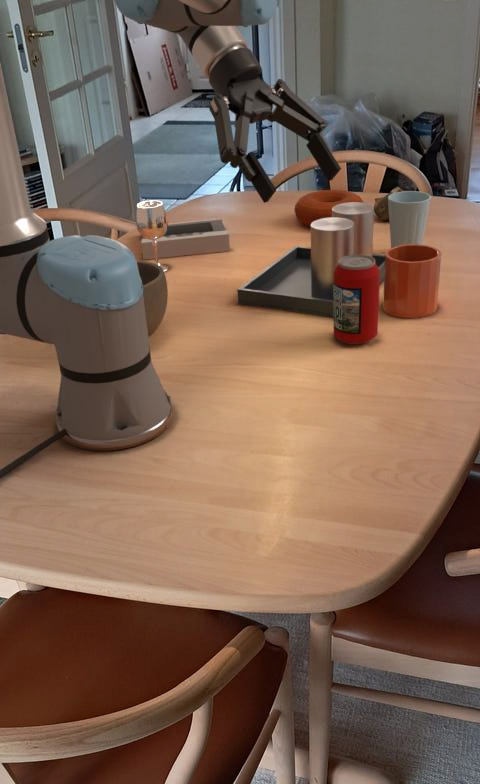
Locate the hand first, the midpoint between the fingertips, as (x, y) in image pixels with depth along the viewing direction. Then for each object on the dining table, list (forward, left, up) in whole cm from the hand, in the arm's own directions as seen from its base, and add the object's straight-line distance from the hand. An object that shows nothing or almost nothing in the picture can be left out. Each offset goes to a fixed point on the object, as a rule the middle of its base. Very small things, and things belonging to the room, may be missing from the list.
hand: (303, 185), depth 122 cm
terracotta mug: (+12, -14, -21) cm, 28 cm away
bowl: (-16, +26, -21) cm, 37 cm away
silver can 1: (+19, -1, -20) cm, 28 cm away
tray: (+14, +4, -21) cm, 26 cm away
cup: (+35, -5, -21) cm, 41 cm away
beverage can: (-4, -10, -21) cm, 24 cm away
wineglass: (+13, +37, -21) cm, 45 cm away
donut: (+50, +17, -21) cm, 57 cm away
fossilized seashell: (+56, +4, -21) cm, 60 cm away
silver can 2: (+10, -1, -20) cm, 23 cm away
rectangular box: (+28, +40, -21) cm, 53 cm away
